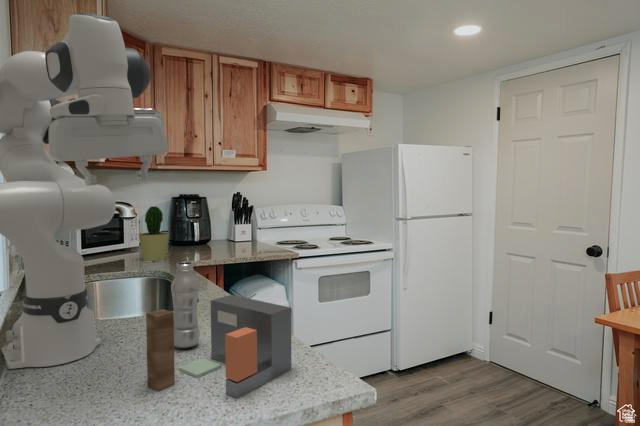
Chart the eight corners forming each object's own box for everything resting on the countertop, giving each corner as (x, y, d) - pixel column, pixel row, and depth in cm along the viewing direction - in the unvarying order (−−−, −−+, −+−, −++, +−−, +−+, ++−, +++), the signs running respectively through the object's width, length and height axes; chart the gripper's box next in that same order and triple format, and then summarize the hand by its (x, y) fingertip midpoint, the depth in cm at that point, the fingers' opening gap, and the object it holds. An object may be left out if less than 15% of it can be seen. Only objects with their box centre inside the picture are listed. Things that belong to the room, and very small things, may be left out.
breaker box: (176, 372, 84) (175, 309, 83) (231, 349, 96) (231, 294, 95) (237, 398, 73) (236, 326, 73) (291, 369, 85) (291, 307, 85)
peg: (147, 386, 78) (146, 313, 77) (164, 379, 81) (162, 309, 80) (158, 391, 76) (156, 316, 75) (174, 384, 79) (173, 312, 78)
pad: (178, 370, 85) (178, 367, 85) (202, 360, 90) (202, 358, 90) (197, 378, 81) (197, 375, 81) (220, 367, 86) (220, 364, 86)
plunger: (225, 377, 75) (225, 334, 74) (245, 368, 79) (245, 327, 78) (237, 382, 73) (236, 337, 73) (257, 372, 77) (256, 330, 77)
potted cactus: (137, 263, 212) (136, 205, 211) (140, 259, 227) (139, 204, 225) (169, 262, 217) (168, 205, 216) (170, 257, 232) (169, 204, 230)
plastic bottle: (189, 339, 103) (188, 260, 102) (205, 346, 98) (204, 263, 97) (165, 347, 98) (164, 263, 97) (181, 354, 93) (180, 266, 92)
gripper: (154, 109, 85) (162, 176, 88) (39, 108, 71) (53, 188, 73) (168, 106, 81) (177, 176, 83) (50, 104, 66) (64, 189, 69)
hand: (118, 182), depth 78 cm, fingers open, 8 cm apart
